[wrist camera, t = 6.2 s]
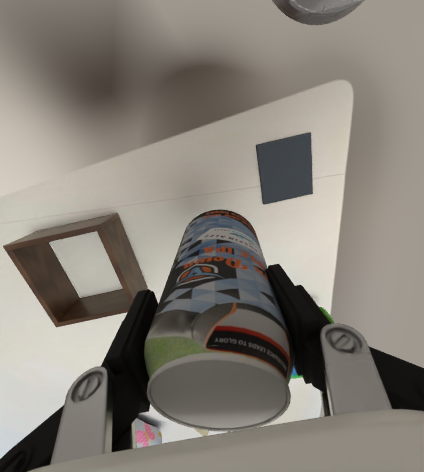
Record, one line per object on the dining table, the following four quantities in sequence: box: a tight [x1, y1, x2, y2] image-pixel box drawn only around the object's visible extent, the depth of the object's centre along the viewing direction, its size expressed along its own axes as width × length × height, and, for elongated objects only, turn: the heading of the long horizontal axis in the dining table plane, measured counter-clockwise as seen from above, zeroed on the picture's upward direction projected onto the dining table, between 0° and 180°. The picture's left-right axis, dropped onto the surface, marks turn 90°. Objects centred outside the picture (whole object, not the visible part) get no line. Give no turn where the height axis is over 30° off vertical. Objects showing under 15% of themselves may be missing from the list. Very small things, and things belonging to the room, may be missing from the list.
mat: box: [256, 132, 313, 204], centre depth 31 cm, size 9×8×1 cm
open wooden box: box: [3, 213, 147, 327], centre depth 32 cm, size 15×14×6 cm
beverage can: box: [144, 210, 295, 431], centre depth 12 cm, size 6×7×12 cm
